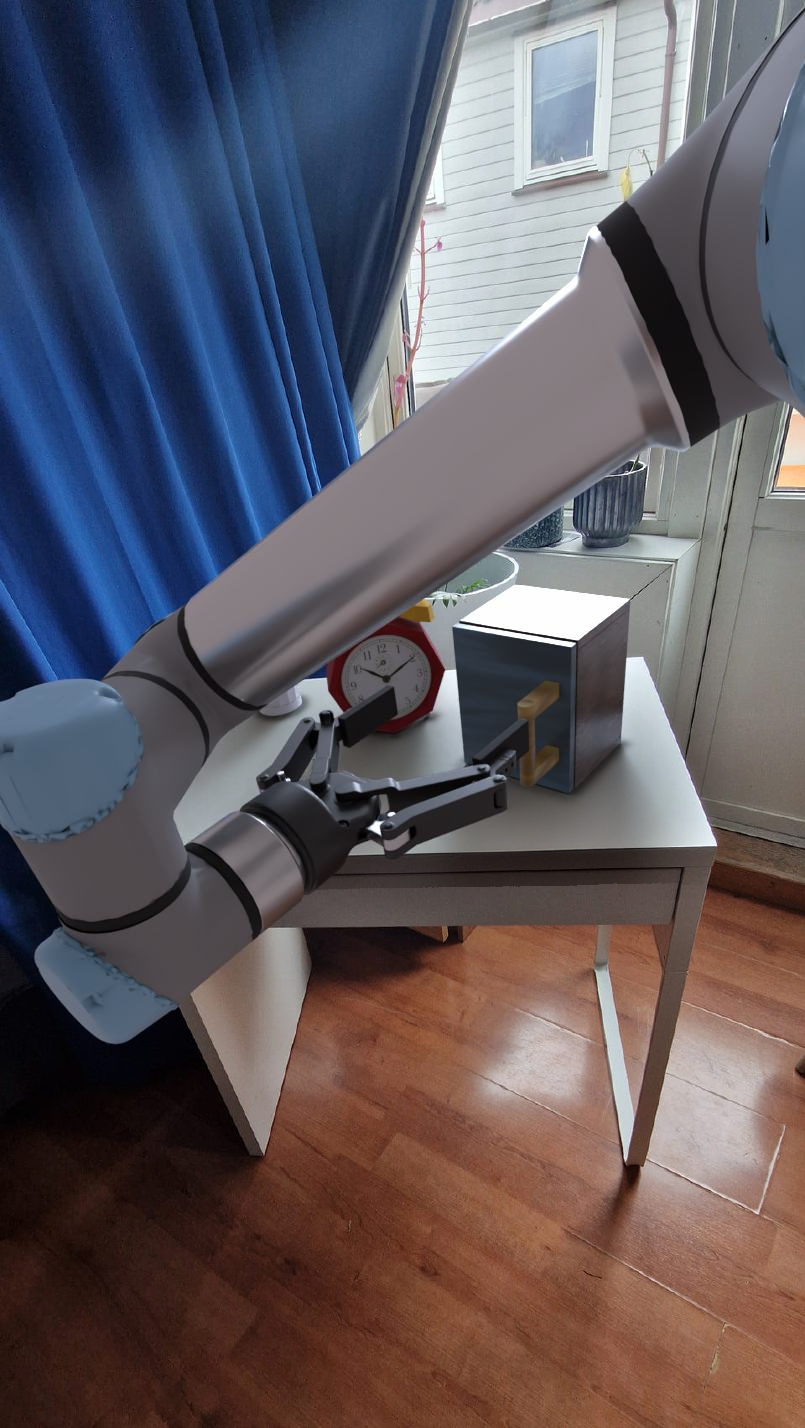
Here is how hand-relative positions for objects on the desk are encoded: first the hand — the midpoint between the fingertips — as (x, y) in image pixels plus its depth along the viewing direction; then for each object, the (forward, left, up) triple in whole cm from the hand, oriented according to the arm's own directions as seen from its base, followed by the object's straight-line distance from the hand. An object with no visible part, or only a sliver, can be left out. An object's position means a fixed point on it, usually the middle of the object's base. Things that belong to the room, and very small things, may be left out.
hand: (455, 715), depth 60 cm
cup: (+45, -17, -17) cm, 51 cm away
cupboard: (+5, -23, -17) cm, 29 cm away
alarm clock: (+27, -21, -17) cm, 38 cm away
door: (+5, -13, -17) cm, 22 cm away
